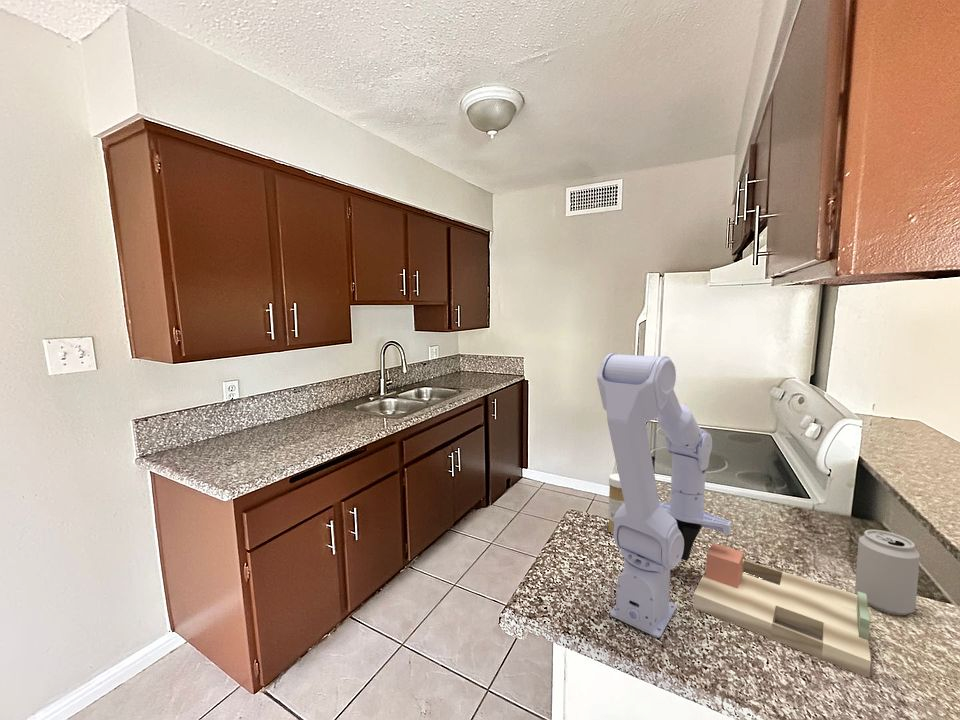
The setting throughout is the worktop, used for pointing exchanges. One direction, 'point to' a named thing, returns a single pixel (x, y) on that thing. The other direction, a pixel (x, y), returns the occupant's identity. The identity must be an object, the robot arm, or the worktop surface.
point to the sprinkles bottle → (614, 498)
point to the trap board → (794, 614)
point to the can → (887, 571)
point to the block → (724, 565)
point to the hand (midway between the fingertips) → (684, 557)
